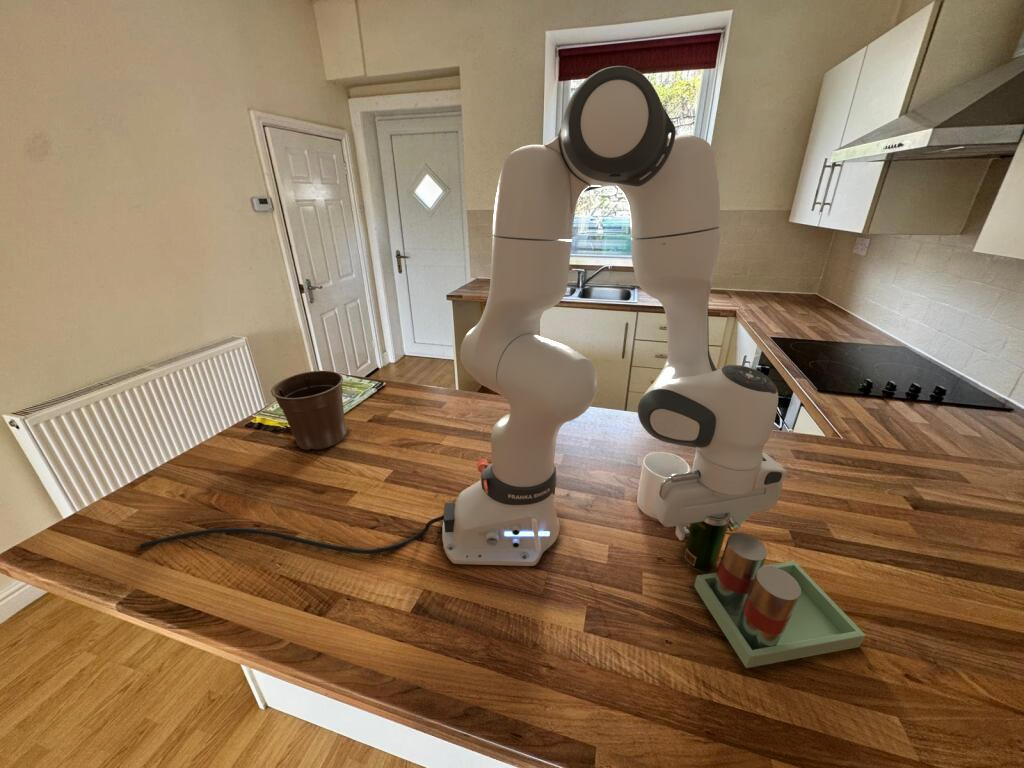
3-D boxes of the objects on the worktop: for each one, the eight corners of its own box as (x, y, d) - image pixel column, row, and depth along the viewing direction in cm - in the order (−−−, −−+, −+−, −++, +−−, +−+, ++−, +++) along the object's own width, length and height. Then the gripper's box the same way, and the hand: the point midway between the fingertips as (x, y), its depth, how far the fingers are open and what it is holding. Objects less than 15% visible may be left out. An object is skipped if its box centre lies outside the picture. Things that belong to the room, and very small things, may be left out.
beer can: (703, 579, 67) (719, 526, 62) (675, 557, 71) (688, 505, 66) (721, 564, 69) (738, 512, 64) (694, 544, 73) (707, 493, 68)
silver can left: (723, 618, 60) (742, 562, 55) (703, 588, 65) (720, 534, 59) (754, 613, 61) (776, 557, 56) (732, 584, 65) (751, 530, 60)
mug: (644, 534, 76) (652, 489, 71) (632, 491, 86) (639, 450, 82) (691, 537, 75) (702, 492, 70) (673, 493, 86) (682, 452, 81)
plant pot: (275, 442, 104) (257, 386, 97) (331, 416, 116) (319, 365, 109) (310, 464, 96) (293, 405, 89) (366, 433, 108) (356, 379, 101)
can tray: (745, 670, 54) (750, 656, 53) (693, 587, 65) (696, 575, 64) (858, 648, 57) (866, 635, 55) (789, 573, 68) (794, 560, 66)
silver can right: (750, 660, 55) (775, 602, 50) (727, 624, 59) (747, 568, 54) (784, 654, 56) (811, 596, 50) (758, 619, 60) (781, 563, 55)
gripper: (673, 490, 58) (660, 558, 64) (797, 471, 61) (773, 537, 67) (652, 463, 63) (641, 528, 69) (766, 447, 66) (746, 510, 72)
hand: (707, 532), depth 68 cm, fingers open, 8 cm apart
